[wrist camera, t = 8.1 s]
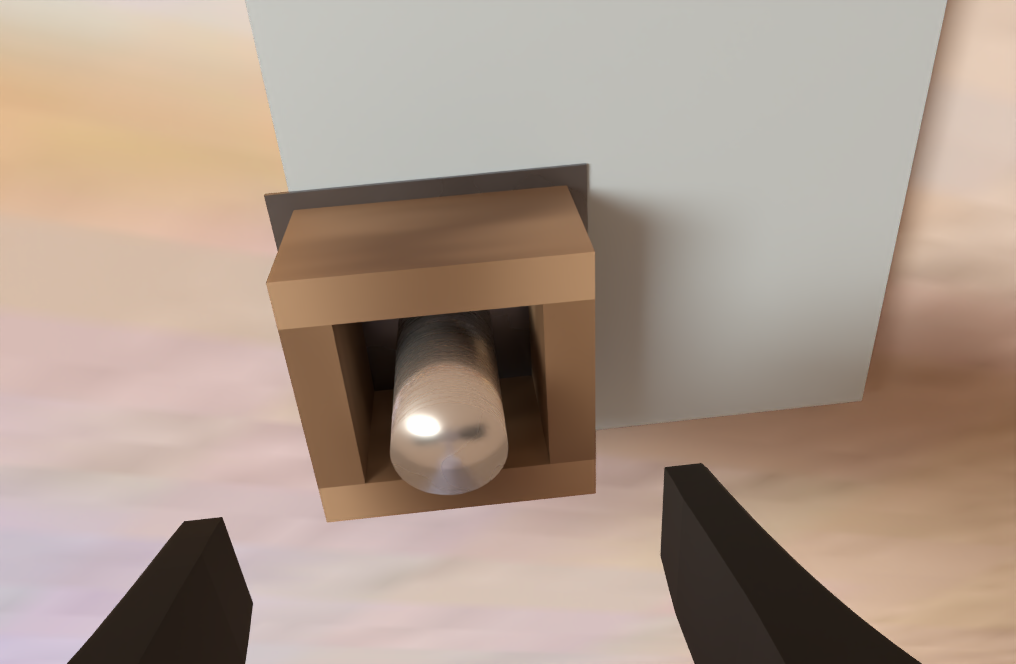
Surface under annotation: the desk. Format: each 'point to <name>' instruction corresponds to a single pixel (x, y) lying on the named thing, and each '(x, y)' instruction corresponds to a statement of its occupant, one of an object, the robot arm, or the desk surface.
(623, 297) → the board
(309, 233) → the collar
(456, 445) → the post
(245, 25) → the desk surface
